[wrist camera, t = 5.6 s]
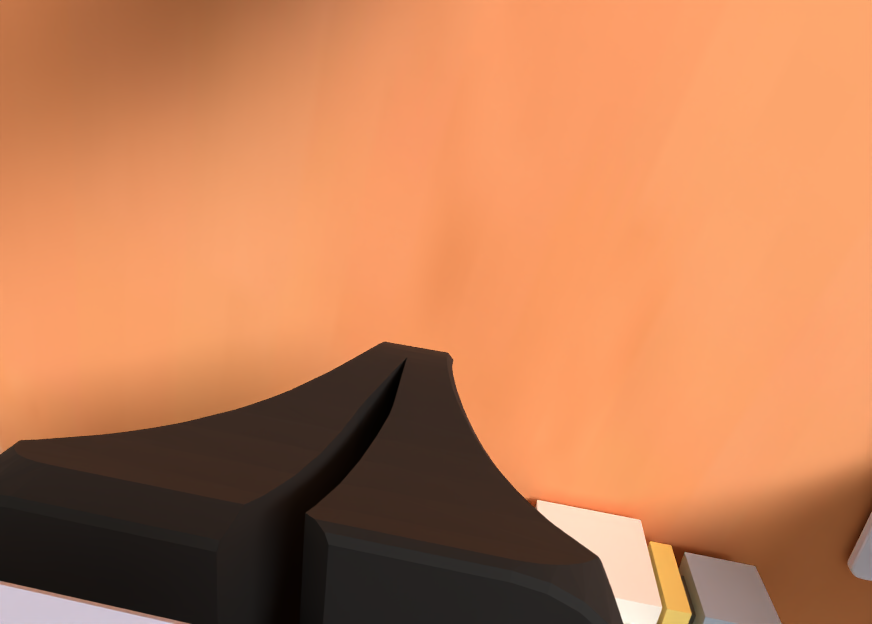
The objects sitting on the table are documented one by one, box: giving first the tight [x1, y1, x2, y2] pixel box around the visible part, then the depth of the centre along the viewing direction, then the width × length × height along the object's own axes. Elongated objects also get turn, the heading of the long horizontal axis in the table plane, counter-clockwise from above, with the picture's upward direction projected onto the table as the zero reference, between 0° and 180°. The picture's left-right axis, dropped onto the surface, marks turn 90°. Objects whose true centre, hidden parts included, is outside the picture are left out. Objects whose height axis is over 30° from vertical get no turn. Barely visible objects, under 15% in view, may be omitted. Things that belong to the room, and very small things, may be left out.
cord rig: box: [648, 541, 782, 624], centre depth 23 cm, size 19×6×4 cm, turn 83°
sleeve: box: [536, 500, 662, 624], centre depth 22 cm, size 4×4×6 cm
